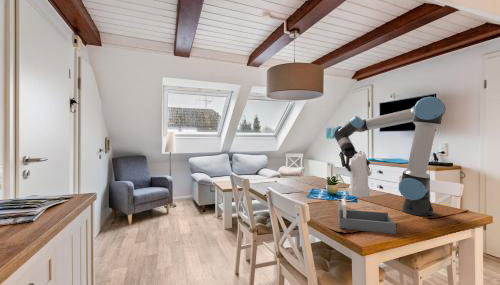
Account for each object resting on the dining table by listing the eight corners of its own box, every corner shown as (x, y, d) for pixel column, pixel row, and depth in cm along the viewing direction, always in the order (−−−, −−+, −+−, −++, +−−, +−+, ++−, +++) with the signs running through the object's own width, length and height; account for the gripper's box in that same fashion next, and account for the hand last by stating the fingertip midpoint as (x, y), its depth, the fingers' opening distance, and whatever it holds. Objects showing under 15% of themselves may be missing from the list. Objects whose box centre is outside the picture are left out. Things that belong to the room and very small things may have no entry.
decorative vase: (359, 198, 127) (357, 152, 127) (344, 194, 137) (343, 151, 137) (374, 196, 130) (373, 151, 130) (359, 192, 140) (358, 150, 140)
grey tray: (387, 222, 121) (387, 205, 121) (395, 234, 106) (395, 214, 106) (338, 217, 129) (338, 201, 129) (339, 228, 114) (339, 210, 113)
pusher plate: (344, 217, 126) (344, 198, 126) (346, 225, 114) (346, 205, 114) (340, 216, 127) (340, 198, 127) (341, 225, 115) (341, 204, 114)
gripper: (360, 149, 150) (377, 178, 134) (328, 150, 148) (341, 180, 132) (365, 141, 144) (383, 170, 129) (331, 142, 142) (345, 171, 126)
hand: (361, 175), depth 130 cm, fingers closed on decorative vase, 9 cm apart
